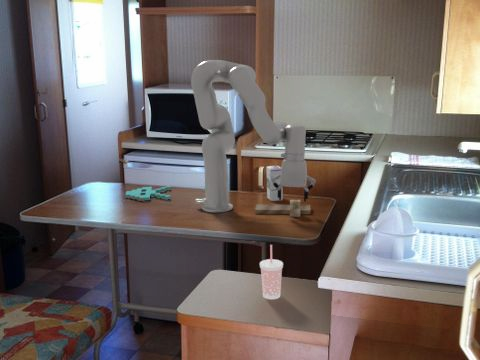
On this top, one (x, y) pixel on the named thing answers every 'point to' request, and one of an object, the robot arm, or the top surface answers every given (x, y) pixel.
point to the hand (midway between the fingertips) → (292, 200)
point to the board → (279, 209)
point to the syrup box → (271, 189)
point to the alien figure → (148, 193)
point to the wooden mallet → (294, 208)
